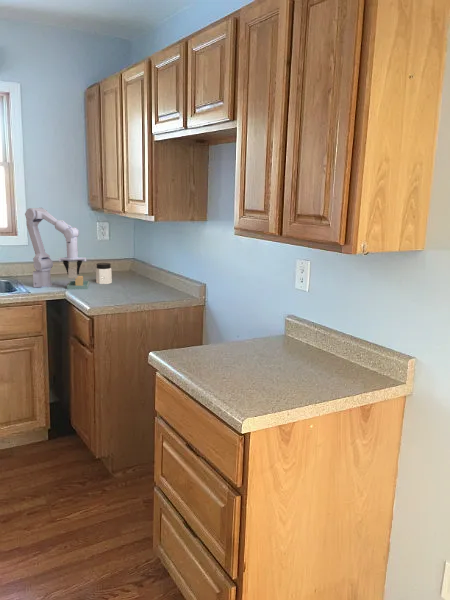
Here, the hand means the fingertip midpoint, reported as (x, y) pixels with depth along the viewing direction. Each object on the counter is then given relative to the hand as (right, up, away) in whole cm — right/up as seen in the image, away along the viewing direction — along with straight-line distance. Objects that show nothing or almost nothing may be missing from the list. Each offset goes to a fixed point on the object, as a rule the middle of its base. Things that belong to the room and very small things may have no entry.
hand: (73, 274), depth 288 cm
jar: (+12, -5, +20) cm, 24 cm away
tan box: (0, -6, +11) cm, 12 cm away
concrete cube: (0, -2, 0) cm, 2 cm away
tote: (+1, -7, +6) cm, 10 cm away
